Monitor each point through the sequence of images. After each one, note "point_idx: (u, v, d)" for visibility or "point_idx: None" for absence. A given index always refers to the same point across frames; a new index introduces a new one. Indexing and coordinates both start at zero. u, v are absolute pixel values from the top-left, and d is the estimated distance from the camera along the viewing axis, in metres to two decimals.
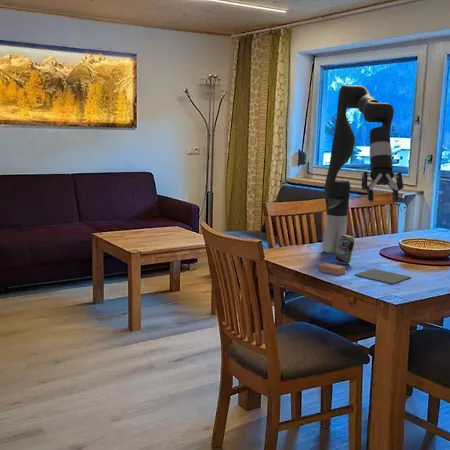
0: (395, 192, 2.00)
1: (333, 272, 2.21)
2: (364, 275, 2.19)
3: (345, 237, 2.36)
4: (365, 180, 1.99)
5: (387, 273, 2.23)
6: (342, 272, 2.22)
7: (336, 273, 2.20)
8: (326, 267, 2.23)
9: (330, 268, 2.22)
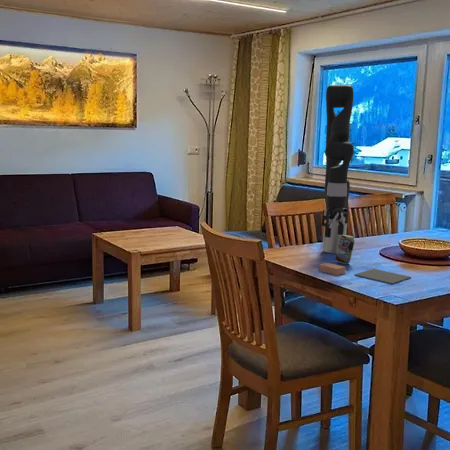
0: (342, 227, 2.24)
1: (333, 272, 2.21)
2: (364, 275, 2.19)
3: (345, 237, 2.36)
4: (327, 219, 2.16)
5: (387, 273, 2.23)
6: (342, 272, 2.22)
7: (335, 273, 2.20)
8: (326, 267, 2.24)
9: (330, 268, 2.22)
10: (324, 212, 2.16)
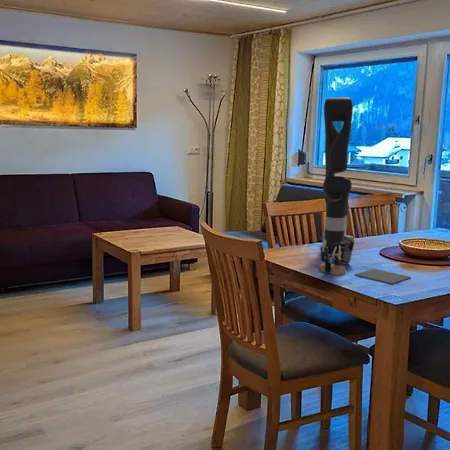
0: (338, 262, 2.26)
1: (332, 272, 2.21)
2: (364, 275, 2.19)
3: (345, 237, 2.36)
4: (327, 255, 2.19)
5: (387, 273, 2.23)
6: (341, 272, 2.22)
7: (335, 273, 2.20)
8: None
9: None
10: (322, 249, 2.19)
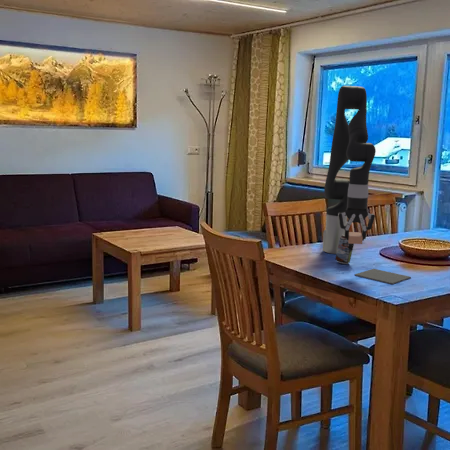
0: (363, 232, 2.18)
1: (348, 239, 2.17)
2: (364, 275, 2.19)
3: None
4: (341, 221, 2.18)
5: (387, 273, 2.23)
6: (357, 241, 2.15)
7: (348, 240, 2.16)
8: None
9: None
10: (338, 214, 2.19)
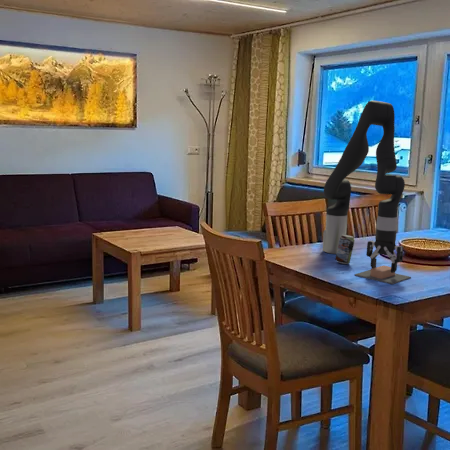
0: (392, 264, 2.15)
1: None
2: (364, 275, 2.19)
3: (345, 237, 2.36)
4: (368, 249, 2.21)
5: None
6: (377, 275, 2.16)
7: None
8: None
9: None
10: None
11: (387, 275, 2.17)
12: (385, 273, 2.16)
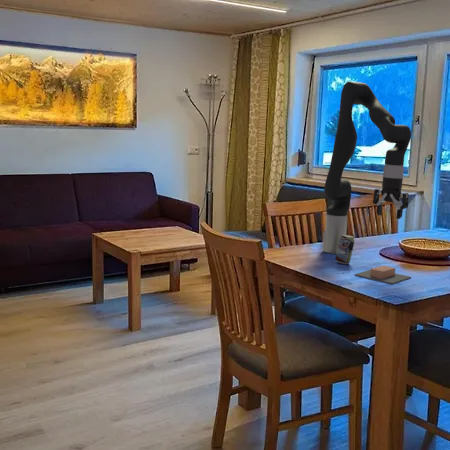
0: (397, 211, 2.24)
1: None
2: (364, 275, 2.19)
3: (345, 237, 2.36)
4: (374, 197, 2.30)
5: None
6: (377, 275, 2.16)
7: None
8: None
9: None
10: None
11: (387, 275, 2.17)
12: (385, 273, 2.16)
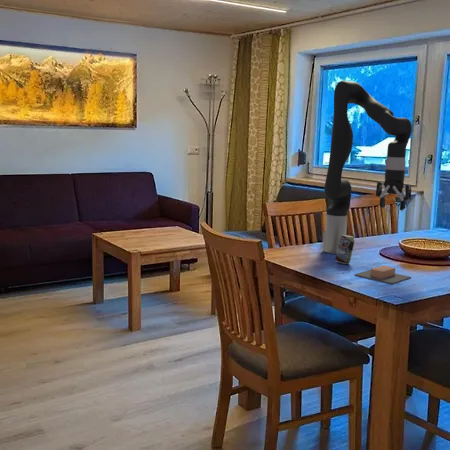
0: (401, 202, 2.27)
1: None
2: (364, 275, 2.19)
3: (345, 237, 2.36)
4: (377, 189, 2.34)
5: None
6: (377, 275, 2.16)
7: None
8: None
9: None
10: None
11: (387, 275, 2.17)
12: (385, 273, 2.16)
